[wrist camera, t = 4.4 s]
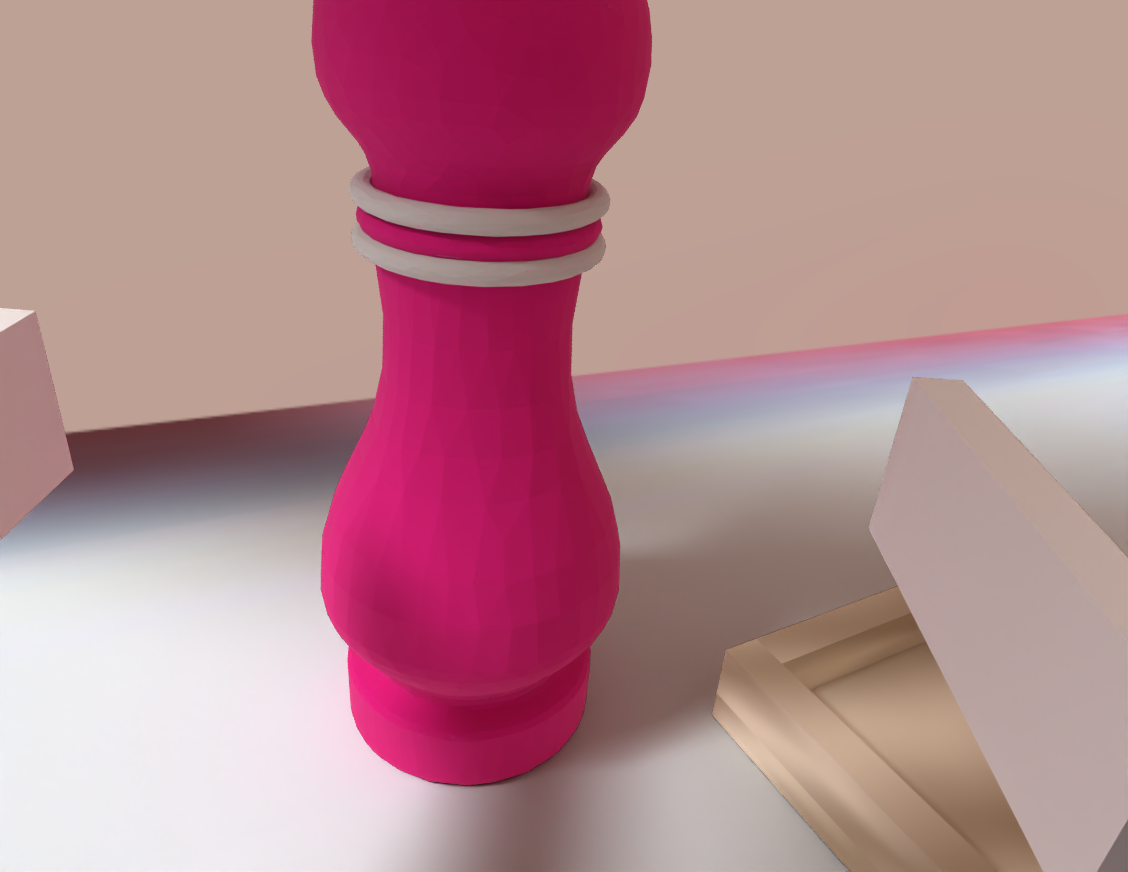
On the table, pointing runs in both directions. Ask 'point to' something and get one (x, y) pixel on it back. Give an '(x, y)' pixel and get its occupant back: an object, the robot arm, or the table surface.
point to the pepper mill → (475, 371)
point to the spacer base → (870, 743)
